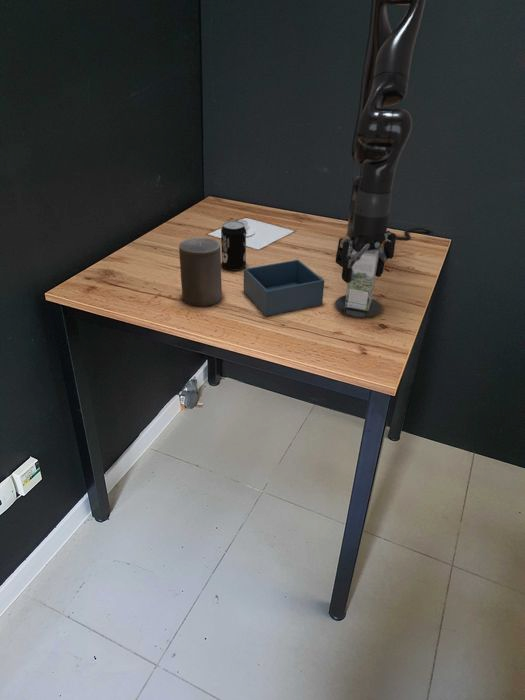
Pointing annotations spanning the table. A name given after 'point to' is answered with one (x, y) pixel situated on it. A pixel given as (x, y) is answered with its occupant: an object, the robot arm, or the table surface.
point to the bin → (283, 287)
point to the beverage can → (233, 245)
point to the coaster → (355, 313)
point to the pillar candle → (200, 271)
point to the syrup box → (362, 281)
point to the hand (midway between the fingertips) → (361, 278)
